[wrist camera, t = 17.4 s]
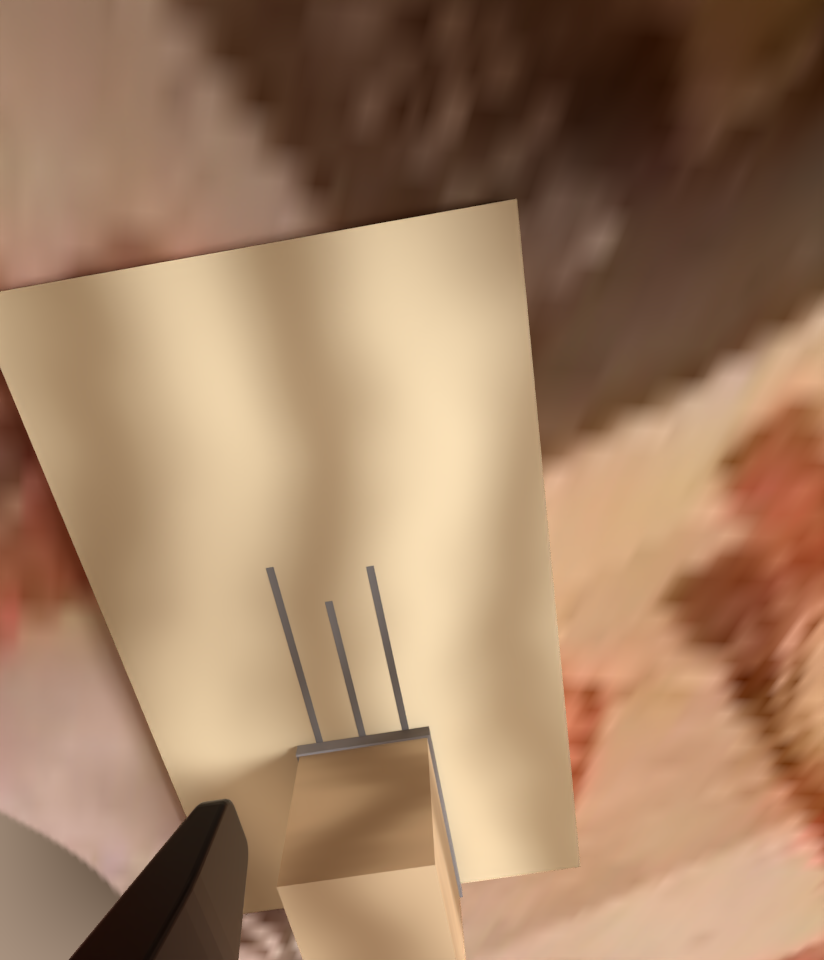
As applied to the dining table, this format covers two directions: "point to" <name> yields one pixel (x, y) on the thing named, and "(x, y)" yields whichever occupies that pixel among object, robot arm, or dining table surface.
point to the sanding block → (371, 852)
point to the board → (317, 515)
